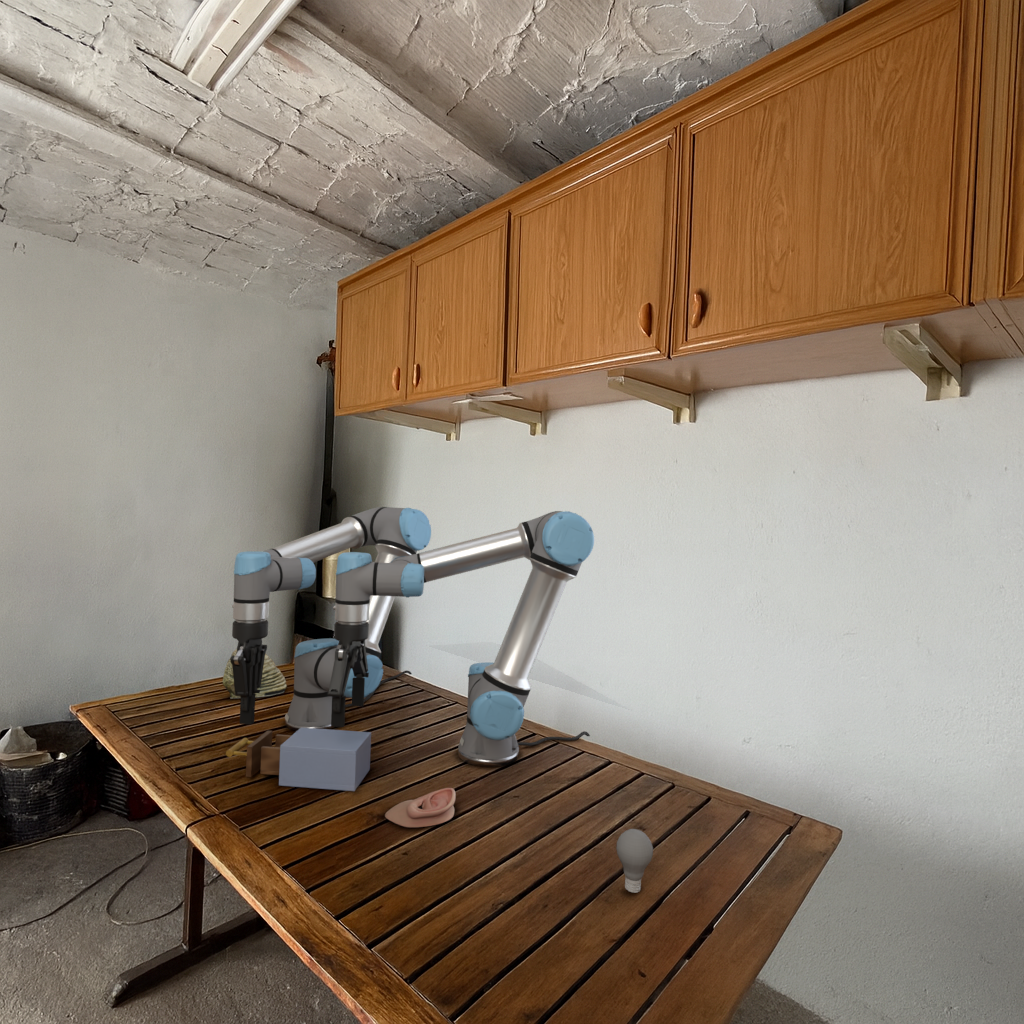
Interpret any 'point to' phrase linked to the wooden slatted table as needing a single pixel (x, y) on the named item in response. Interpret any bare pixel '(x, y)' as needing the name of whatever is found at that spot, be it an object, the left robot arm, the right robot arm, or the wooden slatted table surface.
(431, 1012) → the wooden slatted table surface
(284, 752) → the cabinet
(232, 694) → the fossil
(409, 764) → the wooden slatted table surface
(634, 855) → the light bulb
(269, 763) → the drawer
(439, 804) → the anatomical model
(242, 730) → the wooden slatted table surface
